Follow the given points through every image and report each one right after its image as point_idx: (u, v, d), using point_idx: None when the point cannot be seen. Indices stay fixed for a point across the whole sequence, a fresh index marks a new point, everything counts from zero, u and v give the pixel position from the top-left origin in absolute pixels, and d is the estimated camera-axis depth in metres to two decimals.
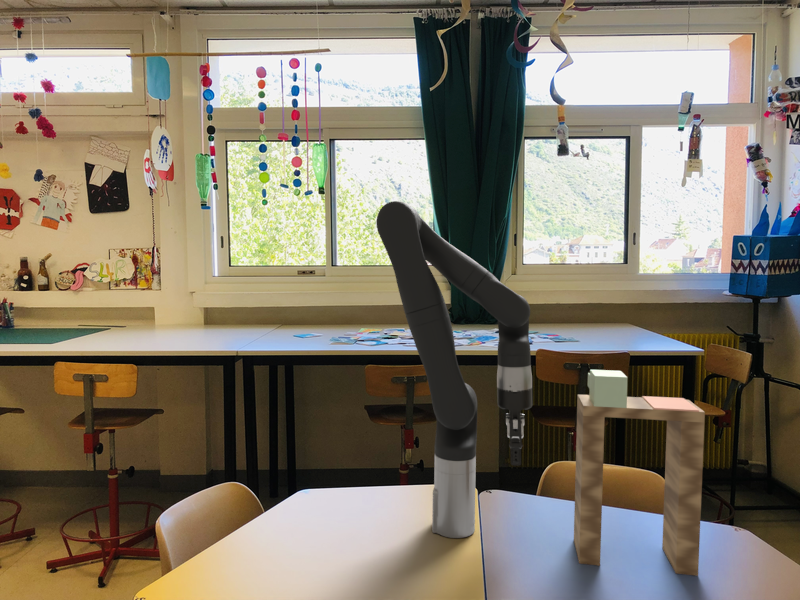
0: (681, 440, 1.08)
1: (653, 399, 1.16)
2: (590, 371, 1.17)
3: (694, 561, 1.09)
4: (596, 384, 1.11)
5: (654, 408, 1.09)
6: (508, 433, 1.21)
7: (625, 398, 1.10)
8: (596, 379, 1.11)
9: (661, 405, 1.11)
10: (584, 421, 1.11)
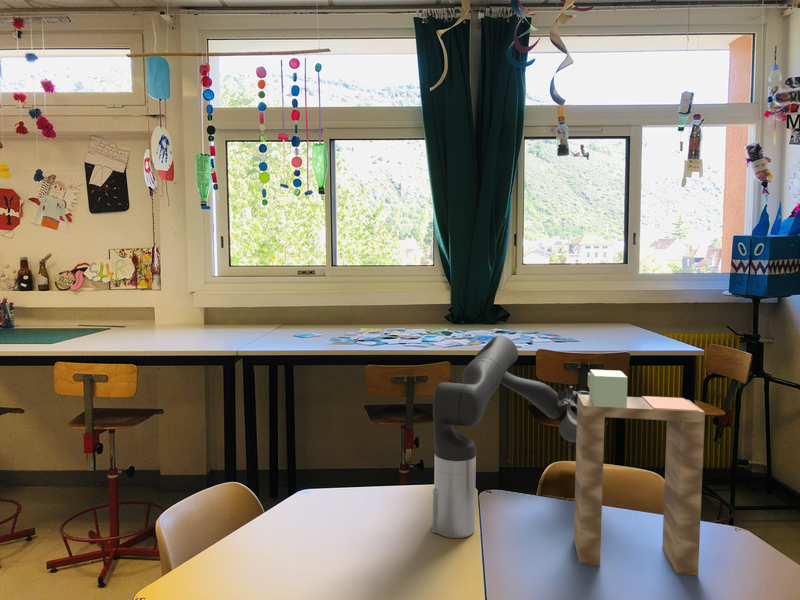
0: (681, 440, 1.08)
1: (653, 399, 1.16)
2: (590, 371, 1.17)
3: (694, 561, 1.09)
4: (596, 384, 1.11)
5: (654, 408, 1.09)
6: None
7: (625, 398, 1.10)
8: (596, 379, 1.11)
9: (661, 405, 1.11)
10: (584, 421, 1.11)
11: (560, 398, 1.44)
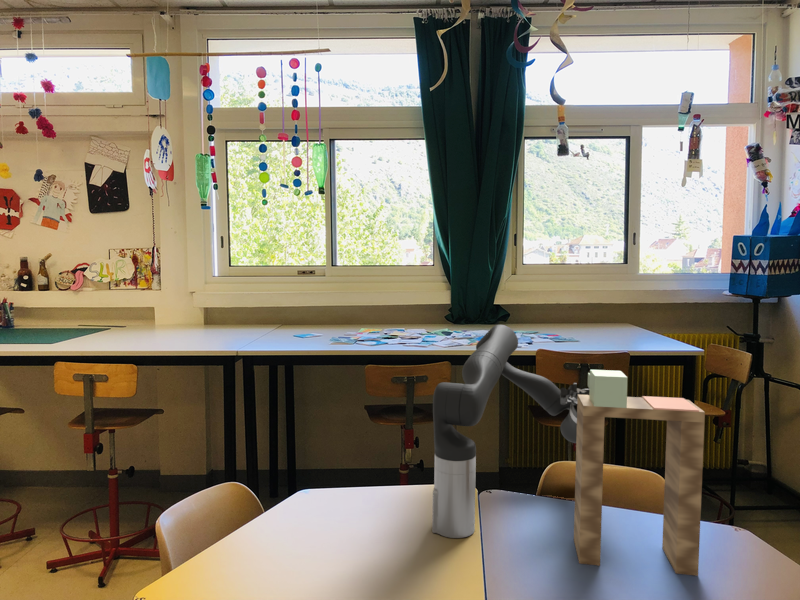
0: (681, 440, 1.08)
1: (653, 399, 1.16)
2: (590, 371, 1.17)
3: (694, 561, 1.09)
4: (596, 384, 1.11)
5: (654, 408, 1.09)
6: None
7: (625, 398, 1.10)
8: (596, 379, 1.11)
9: (661, 405, 1.11)
10: (584, 421, 1.11)
11: (563, 396, 1.35)
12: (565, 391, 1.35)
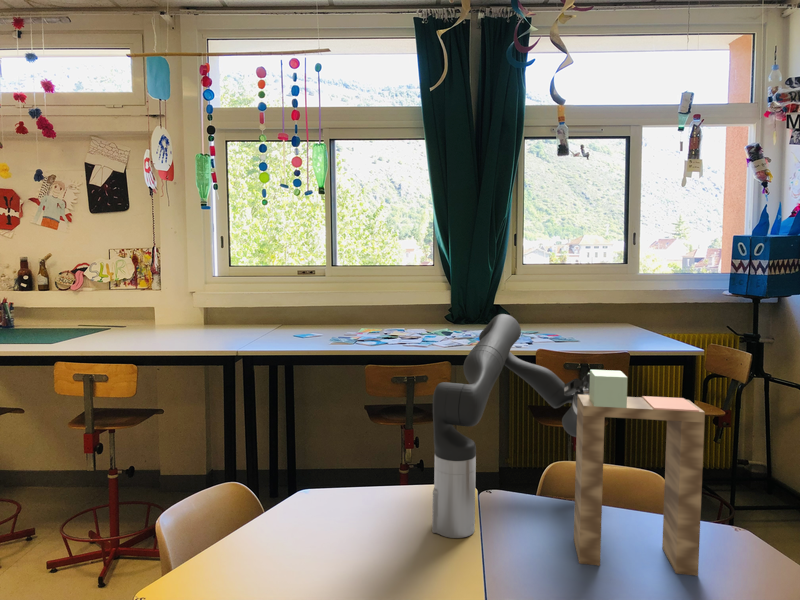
0: (681, 440, 1.08)
1: (653, 399, 1.16)
2: (590, 371, 1.17)
3: (694, 561, 1.09)
4: (596, 384, 1.11)
5: (654, 408, 1.09)
6: None
7: (625, 398, 1.10)
8: (596, 379, 1.10)
9: (661, 405, 1.11)
10: (584, 421, 1.11)
11: (578, 387, 1.28)
12: (579, 382, 1.28)
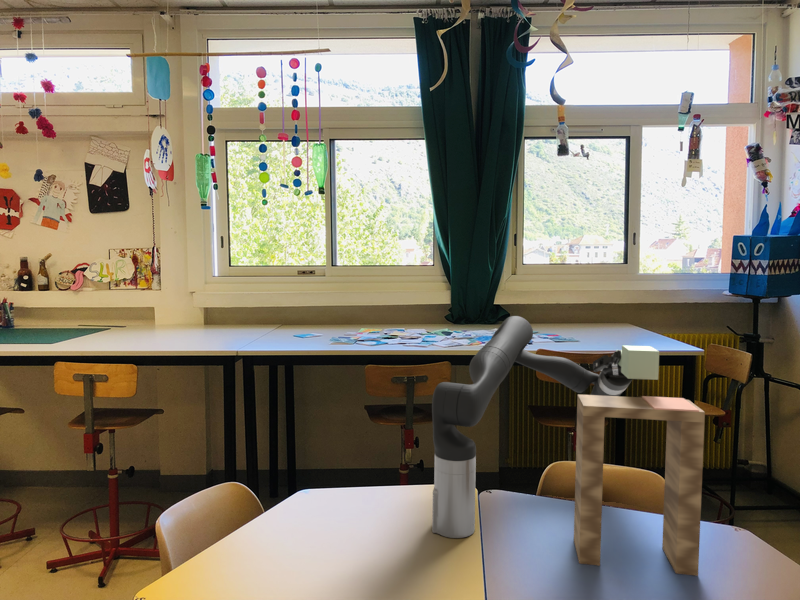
0: (681, 440, 1.08)
1: (653, 399, 1.16)
2: (622, 347, 1.25)
3: (694, 561, 1.09)
4: (630, 358, 1.19)
5: (654, 408, 1.09)
6: None
7: (657, 370, 1.18)
8: (630, 353, 1.19)
9: (661, 405, 1.11)
10: (584, 421, 1.11)
11: (607, 363, 1.37)
12: (608, 358, 1.37)
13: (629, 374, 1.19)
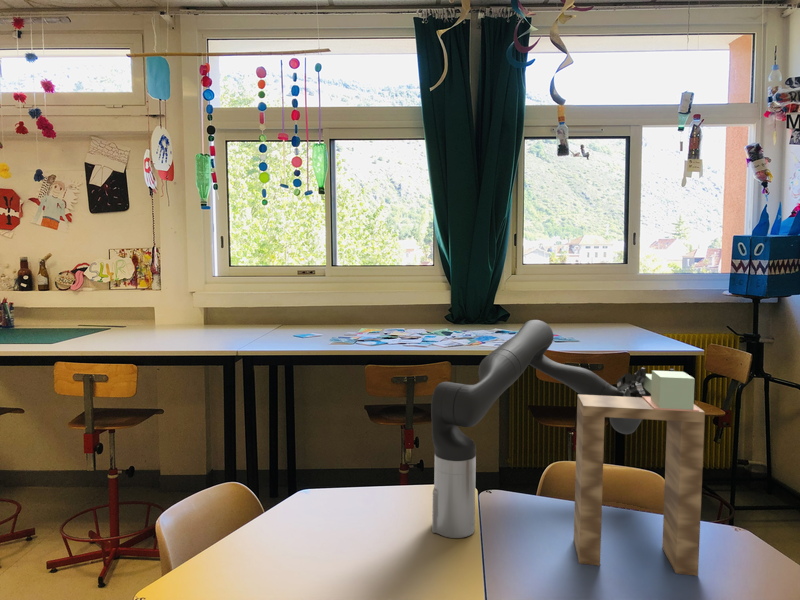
0: (681, 440, 1.08)
1: None
2: (652, 372, 1.15)
3: (694, 561, 1.09)
4: (662, 385, 1.08)
5: (654, 408, 1.09)
6: None
7: (692, 400, 1.07)
8: (662, 380, 1.08)
9: None
10: (584, 421, 1.11)
11: (629, 382, 1.26)
12: (631, 377, 1.26)
13: (661, 403, 1.09)
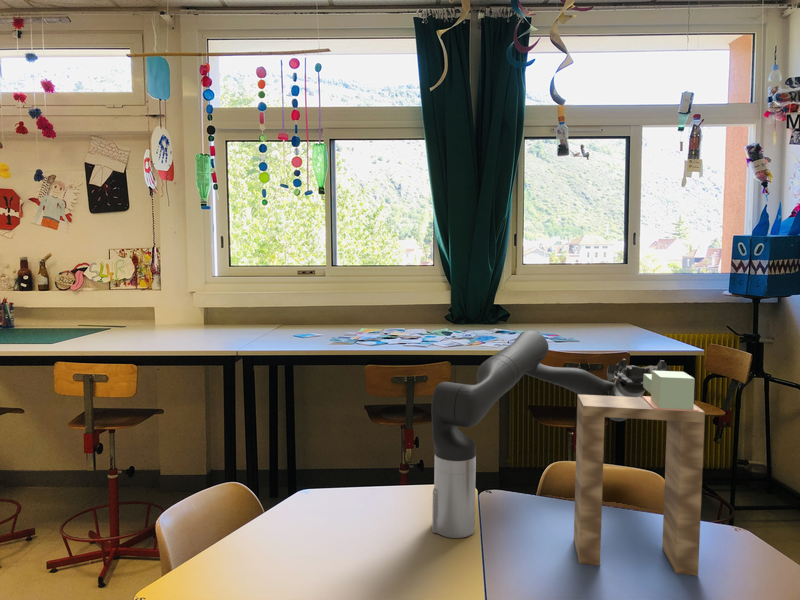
0: (681, 440, 1.08)
1: None
2: (652, 372, 1.15)
3: (694, 561, 1.09)
4: (662, 385, 1.08)
5: (654, 408, 1.09)
6: None
7: (692, 400, 1.07)
8: (662, 380, 1.08)
9: None
10: (584, 421, 1.11)
11: (611, 372, 1.40)
12: (613, 367, 1.40)
13: (661, 403, 1.09)
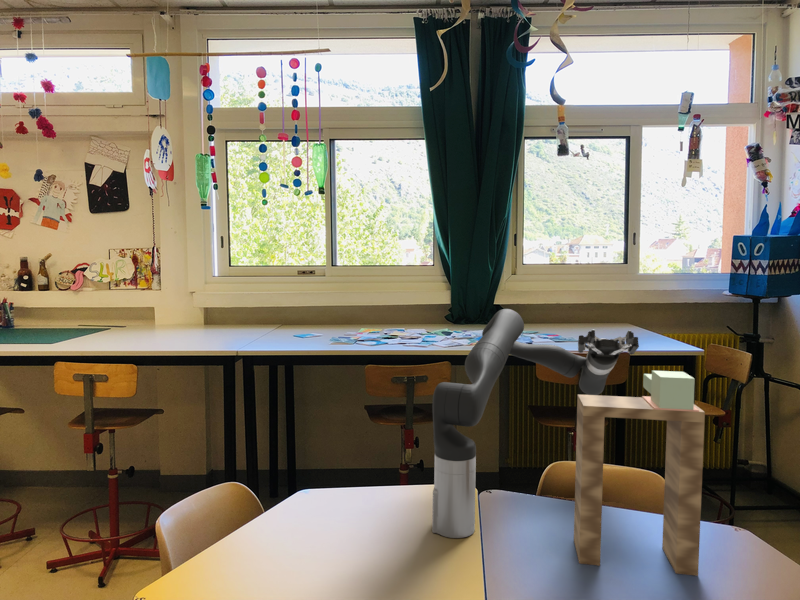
0: (681, 440, 1.08)
1: None
2: (652, 372, 1.15)
3: (694, 561, 1.09)
4: (662, 385, 1.08)
5: (654, 408, 1.09)
6: None
7: (692, 400, 1.07)
8: (662, 380, 1.08)
9: None
10: (584, 421, 1.11)
11: (581, 343, 1.43)
12: (583, 338, 1.43)
13: (661, 403, 1.09)
